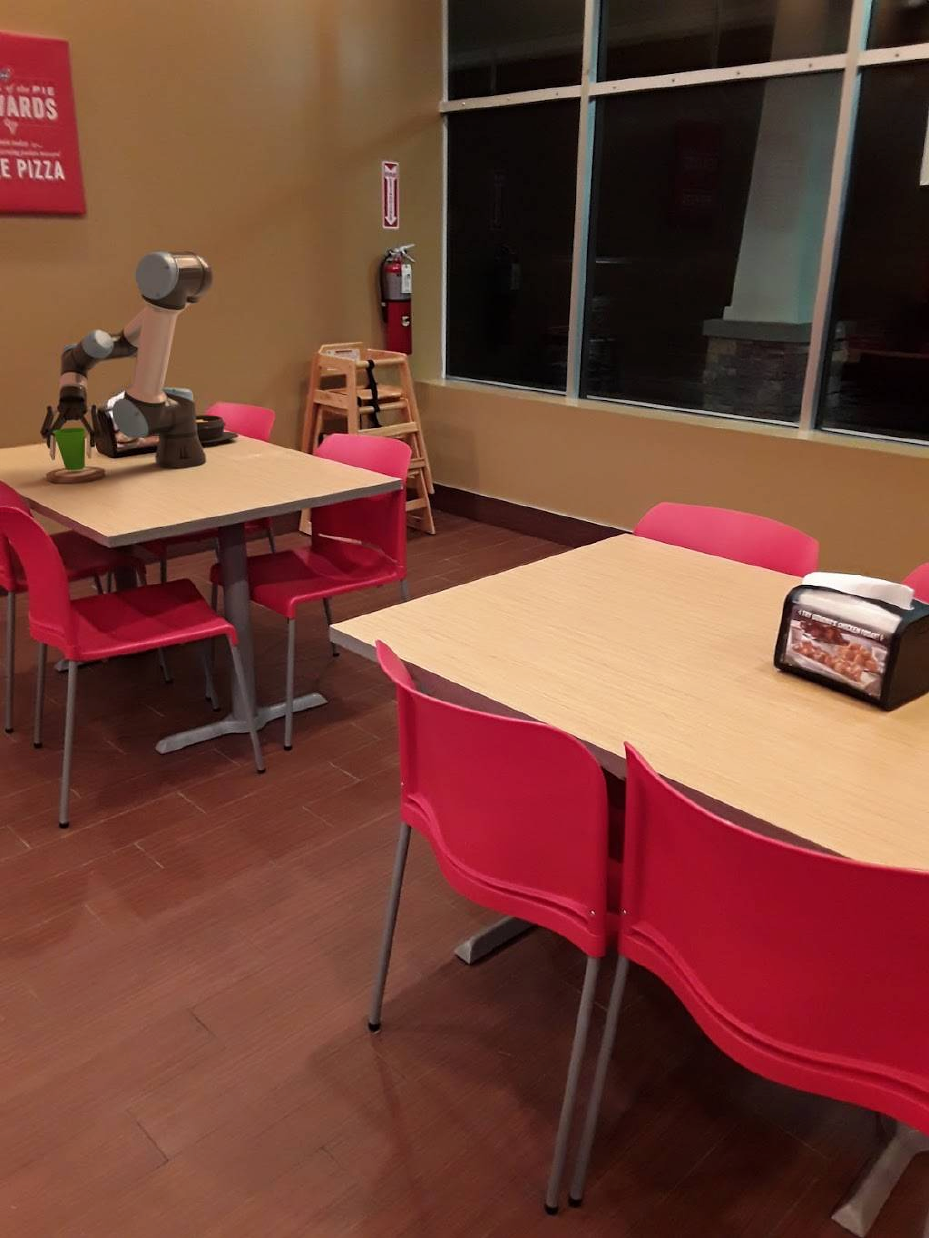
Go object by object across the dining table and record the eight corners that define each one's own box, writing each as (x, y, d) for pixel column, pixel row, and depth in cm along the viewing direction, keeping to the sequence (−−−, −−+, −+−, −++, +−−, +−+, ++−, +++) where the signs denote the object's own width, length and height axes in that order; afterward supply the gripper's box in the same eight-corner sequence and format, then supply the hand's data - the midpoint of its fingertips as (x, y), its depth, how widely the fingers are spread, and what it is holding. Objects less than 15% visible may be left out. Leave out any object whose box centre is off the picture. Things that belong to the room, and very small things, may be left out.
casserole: (172, 451, 310) (169, 426, 307) (158, 442, 325) (155, 417, 321) (246, 444, 321) (244, 419, 318) (229, 435, 336) (227, 411, 333)
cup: (97, 465, 277) (91, 428, 273) (82, 472, 269) (76, 433, 265) (68, 464, 278) (62, 427, 274) (52, 471, 270) (46, 433, 266)
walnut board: (117, 473, 279) (116, 468, 278) (79, 485, 265) (78, 480, 264) (73, 469, 284) (72, 464, 283) (34, 481, 270) (33, 475, 269)
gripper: (114, 399, 283) (113, 462, 274) (38, 401, 279) (34, 465, 271) (109, 383, 276) (107, 447, 267) (30, 385, 273) (26, 450, 264)
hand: (70, 456), depth 269 cm, fingers open, 9 cm apart
